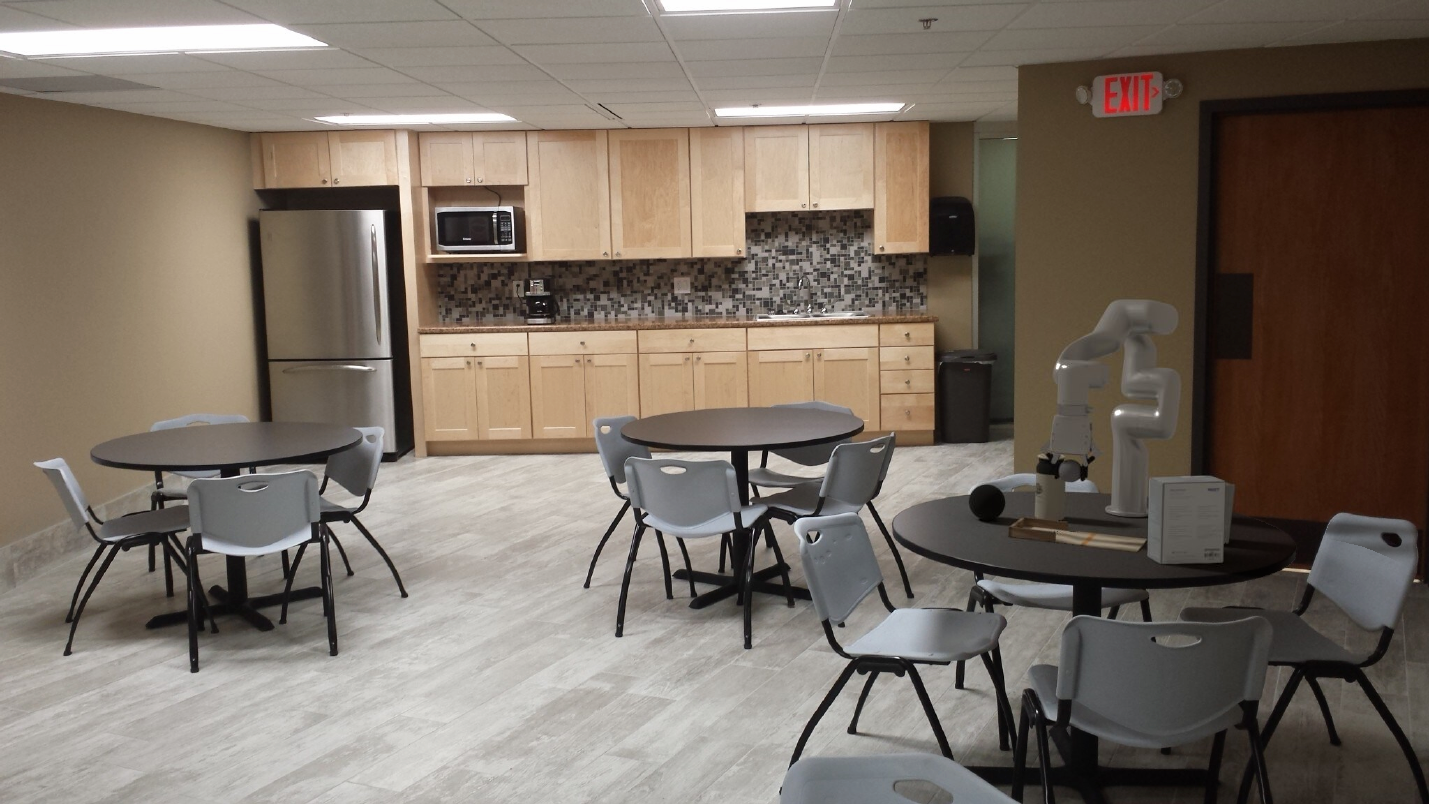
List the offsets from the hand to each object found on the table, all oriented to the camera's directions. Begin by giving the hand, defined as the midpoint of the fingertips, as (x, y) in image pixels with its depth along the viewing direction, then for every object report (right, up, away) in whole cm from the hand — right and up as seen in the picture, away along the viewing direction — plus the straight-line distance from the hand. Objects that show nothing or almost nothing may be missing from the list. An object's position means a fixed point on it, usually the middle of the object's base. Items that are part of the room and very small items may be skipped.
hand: (1069, 478), depth 279 cm
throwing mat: (+2, -16, +1) cm, 16 cm away
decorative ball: (-16, -13, +23) cm, 31 cm away
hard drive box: (+21, -18, -21) cm, 35 cm away
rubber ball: (0, +2, 0) cm, 2 cm away
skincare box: (+35, -16, -3) cm, 39 cm away
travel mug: (+2, -13, +24) cm, 27 cm away
